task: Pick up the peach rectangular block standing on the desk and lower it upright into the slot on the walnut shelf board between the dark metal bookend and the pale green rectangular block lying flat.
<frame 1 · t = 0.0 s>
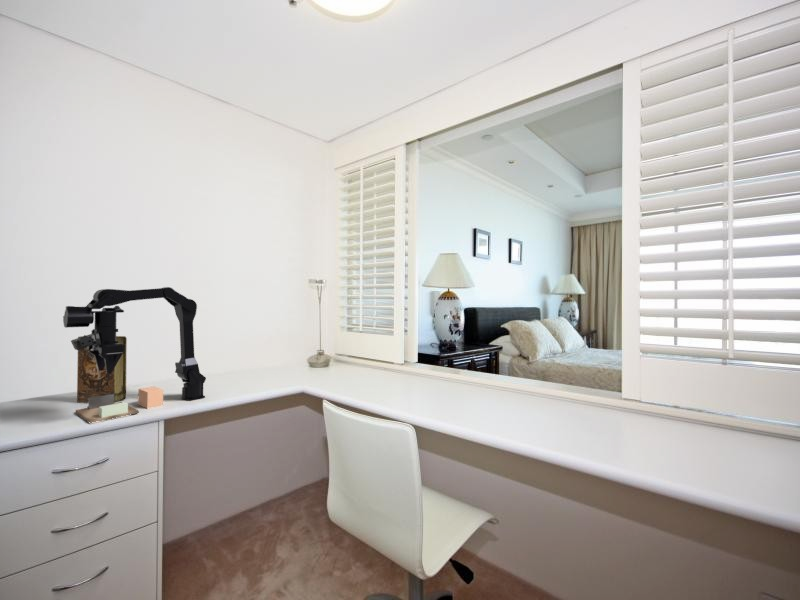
hand: (105, 372, 121), 15 cm above the table, tool pointing down, fingers open, 9 cm apart
bookend: (101, 409, 128), resting on shelf board
shelf board: (107, 413, 124), on the table
pale green rectangular block: (113, 417, 119), resting on shelf board
peach rectangular block: (150, 405, 134), on the table
book: (100, 401, 138), on the table
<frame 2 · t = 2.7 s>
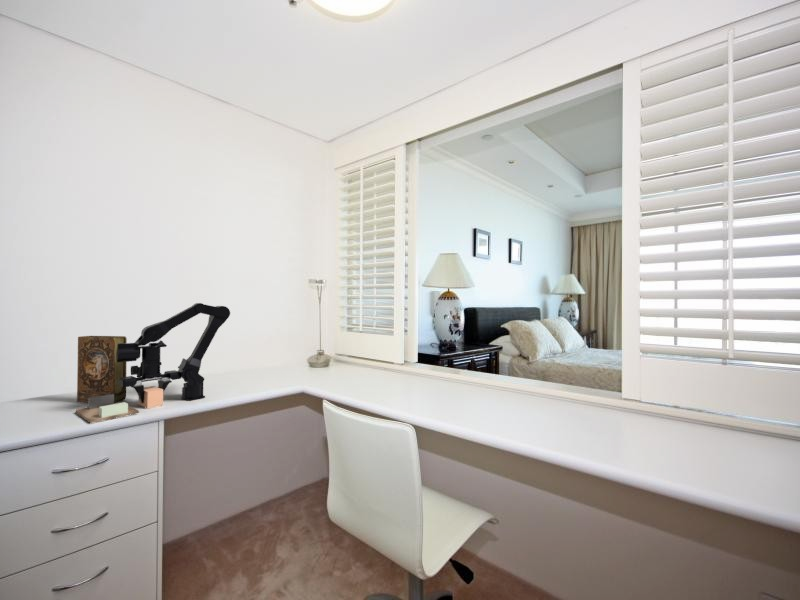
hand: (150, 401, 134), 1 cm above the table, tool pointing down, fingers closed on peach rectangular block, 5 cm apart
peach rectangular block: (150, 404, 134), on the table, touching gripper
everything else where it was.
when the fingers open (4 cm above the table, at t = 7.7 s): peach rectangular block drops 1 cm, resting on shelf board.
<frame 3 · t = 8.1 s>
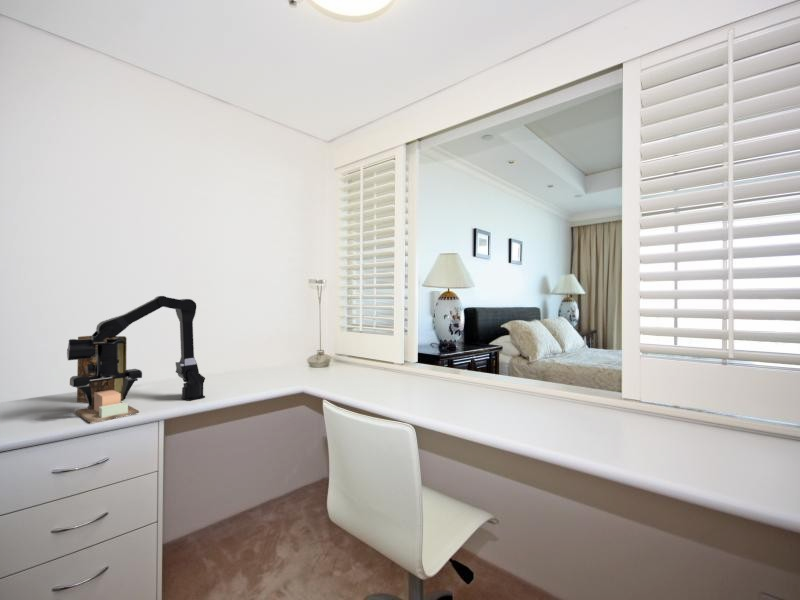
hand: (107, 402, 124), 4 cm above the table, tool pointing down, fingers open, 9 cm apart
peach rectangular block: (107, 410, 124), point 1 cm above the table, touching shelf board
everything else where it was.
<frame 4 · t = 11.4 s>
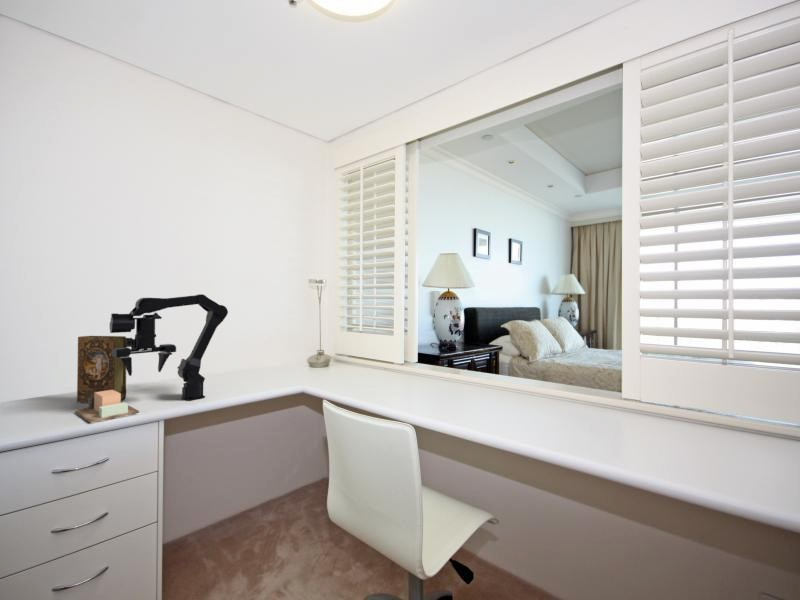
hand: (145, 373, 132), 12 cm above the table, tool pointing down, fingers open, 9 cm apart
nothing on the table moved.
at the end: peach rectangular block 0.0 cm from the target spot, point 1.0 cm above the table; peach rectangular block tilted 0°; the gripper is holding nothing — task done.
